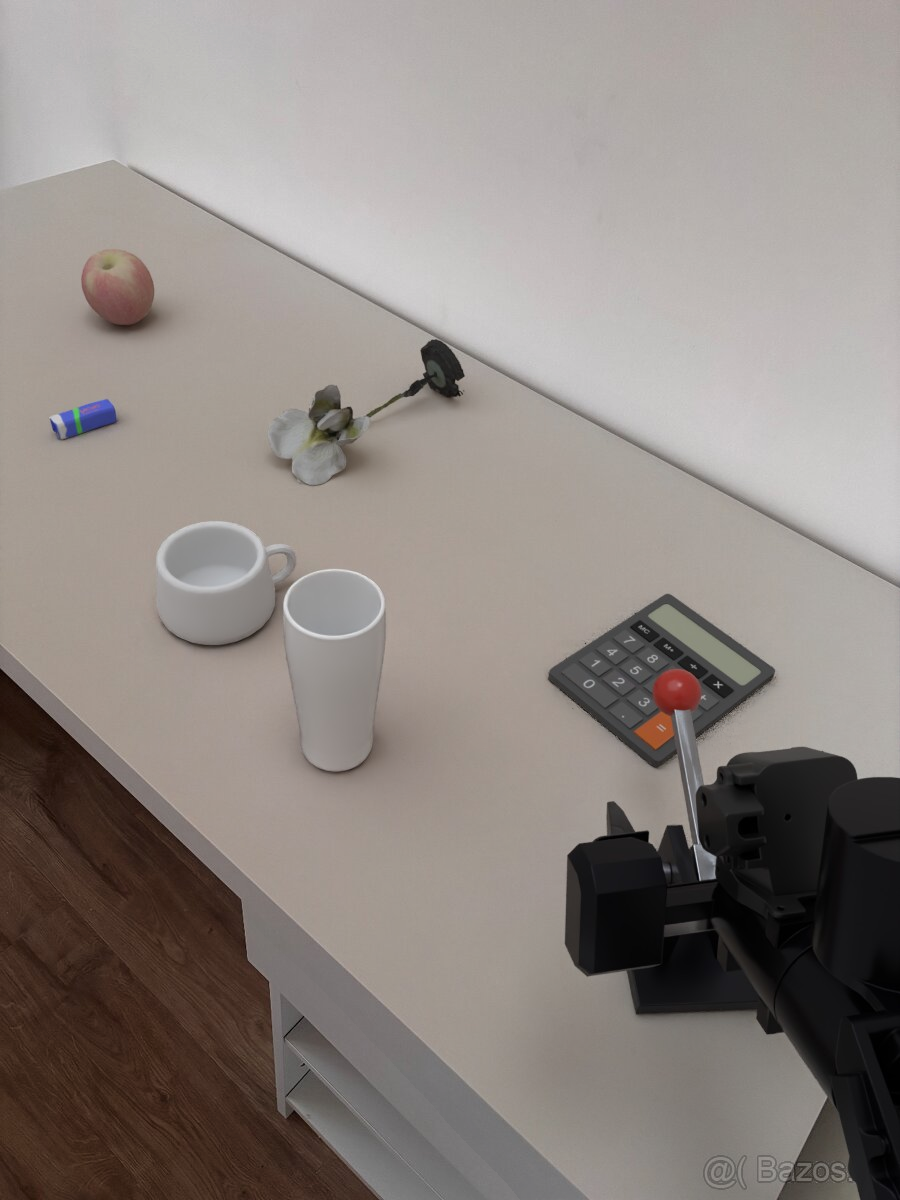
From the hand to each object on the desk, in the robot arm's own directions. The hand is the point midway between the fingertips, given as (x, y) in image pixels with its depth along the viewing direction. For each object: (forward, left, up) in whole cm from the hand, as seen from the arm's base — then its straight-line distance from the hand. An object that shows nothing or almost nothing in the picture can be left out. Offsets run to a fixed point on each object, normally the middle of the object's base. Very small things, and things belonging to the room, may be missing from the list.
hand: (688, 799), depth 59 cm
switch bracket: (-1, -3, -15) cm, 15 cm away
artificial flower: (+58, +2, -15) cm, 60 cm away
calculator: (+20, -12, -15) cm, 28 cm away
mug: (+37, +20, -15) cm, 45 cm away
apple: (+86, +24, -15) cm, 91 cm away
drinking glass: (+20, +15, -15) cm, 30 cm away
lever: (+5, -4, -7) cm, 10 cm away
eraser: (+66, +30, -15) cm, 74 cm away
